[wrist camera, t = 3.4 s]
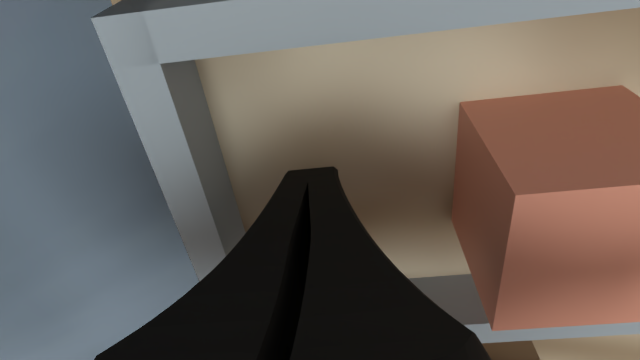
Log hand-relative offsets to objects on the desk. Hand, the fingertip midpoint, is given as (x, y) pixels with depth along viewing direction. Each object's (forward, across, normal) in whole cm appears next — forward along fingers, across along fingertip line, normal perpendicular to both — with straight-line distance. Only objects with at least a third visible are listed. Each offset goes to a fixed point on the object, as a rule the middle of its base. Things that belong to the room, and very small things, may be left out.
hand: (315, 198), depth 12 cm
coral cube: (+1, -6, 0) cm, 6 cm away
